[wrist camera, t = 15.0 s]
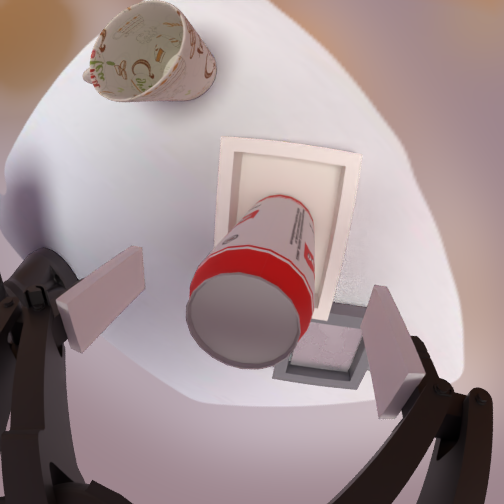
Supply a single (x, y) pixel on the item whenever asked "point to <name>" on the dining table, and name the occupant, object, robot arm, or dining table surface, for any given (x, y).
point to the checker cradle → (331, 378)
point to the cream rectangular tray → (297, 186)
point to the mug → (150, 56)
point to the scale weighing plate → (327, 347)
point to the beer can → (256, 287)
